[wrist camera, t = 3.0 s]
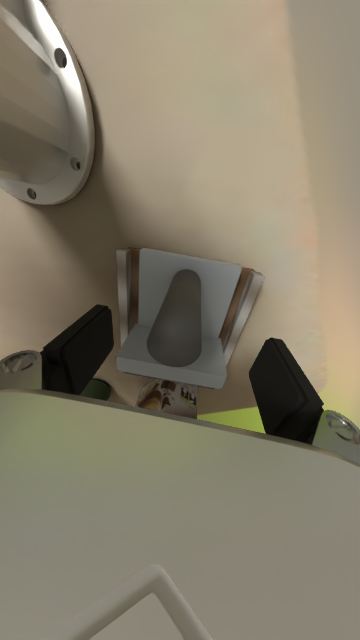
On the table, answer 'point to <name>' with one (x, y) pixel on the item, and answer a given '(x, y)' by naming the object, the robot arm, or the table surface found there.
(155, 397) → the coffee box
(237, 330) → the press bed
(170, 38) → the table surface
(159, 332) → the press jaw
